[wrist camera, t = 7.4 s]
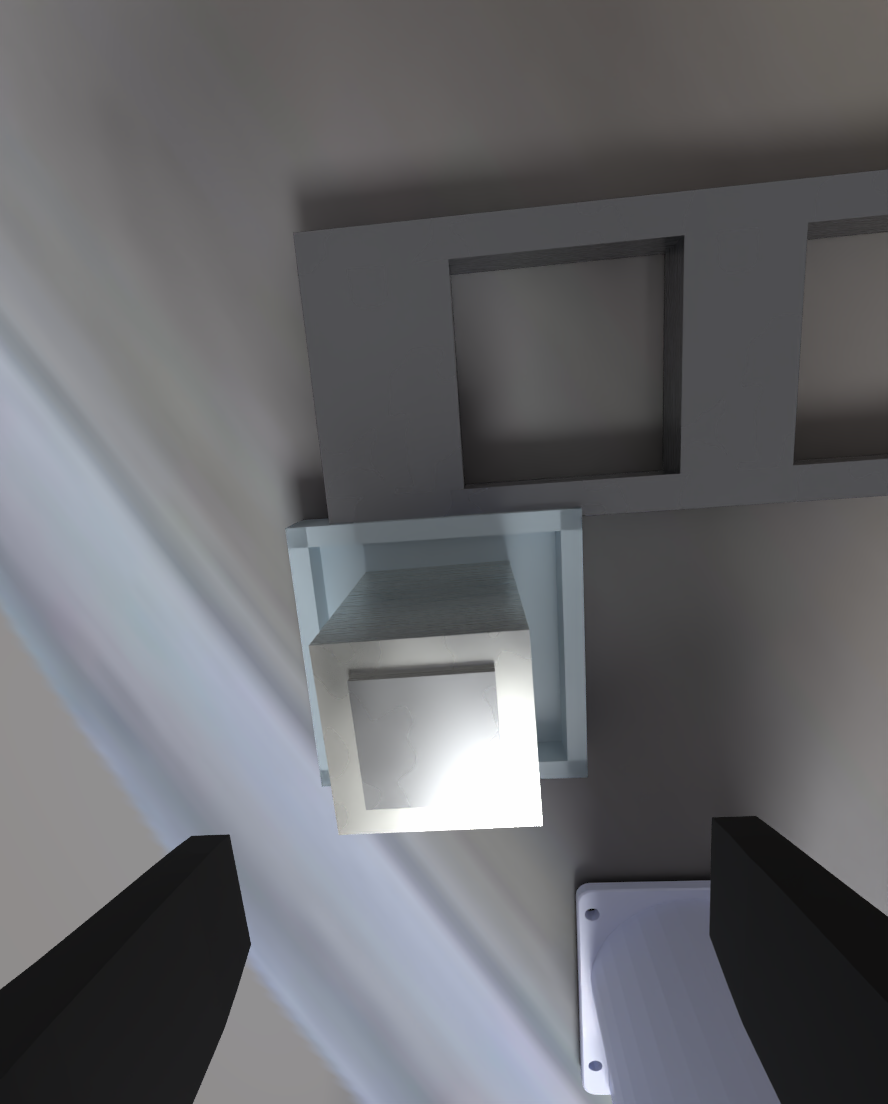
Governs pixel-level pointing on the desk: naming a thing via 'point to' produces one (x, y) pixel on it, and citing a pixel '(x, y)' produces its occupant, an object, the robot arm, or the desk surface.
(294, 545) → the parts tray
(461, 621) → the grey rectangular block
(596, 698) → the desk surface
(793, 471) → the rail
